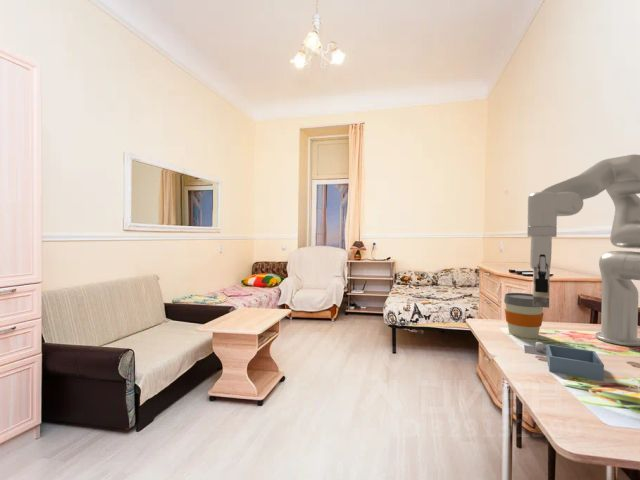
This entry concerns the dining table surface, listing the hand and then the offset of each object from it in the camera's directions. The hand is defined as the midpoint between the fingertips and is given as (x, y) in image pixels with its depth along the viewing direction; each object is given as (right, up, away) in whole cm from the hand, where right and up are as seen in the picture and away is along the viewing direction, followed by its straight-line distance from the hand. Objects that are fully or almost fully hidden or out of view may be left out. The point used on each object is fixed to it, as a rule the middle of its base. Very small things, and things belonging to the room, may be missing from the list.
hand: (540, 290), depth 104 cm
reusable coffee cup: (+5, -20, +18) cm, 27 cm away
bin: (0, -20, -13) cm, 24 cm away
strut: (0, -5, 0) cm, 5 cm away
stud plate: (0, -20, 0) cm, 20 cm away
